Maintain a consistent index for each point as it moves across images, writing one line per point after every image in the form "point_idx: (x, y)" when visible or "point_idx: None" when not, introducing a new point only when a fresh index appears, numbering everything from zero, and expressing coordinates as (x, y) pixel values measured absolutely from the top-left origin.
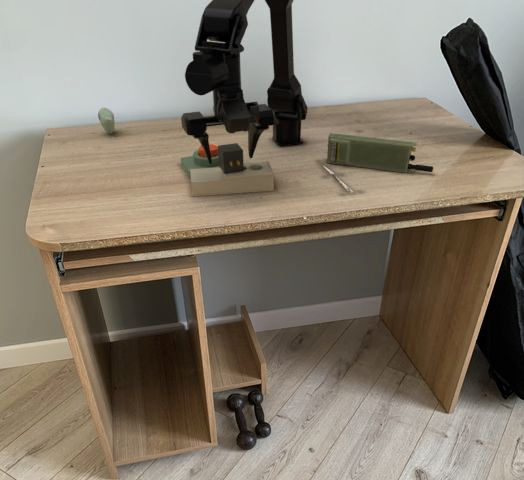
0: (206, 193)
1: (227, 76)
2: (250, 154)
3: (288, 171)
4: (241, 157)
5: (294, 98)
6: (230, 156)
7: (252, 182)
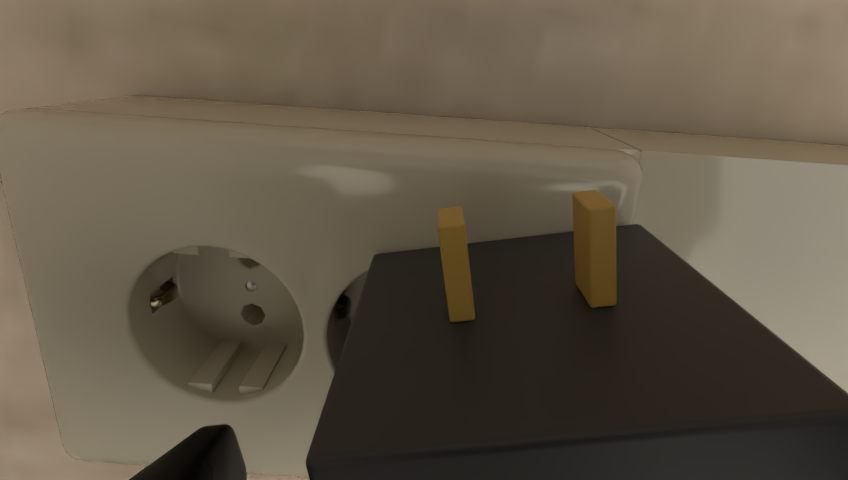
0: (777, 141)
1: None
2: (204, 466)
3: (6, 425)
4: (375, 347)
5: None
6: (619, 355)
7: (302, 119)
